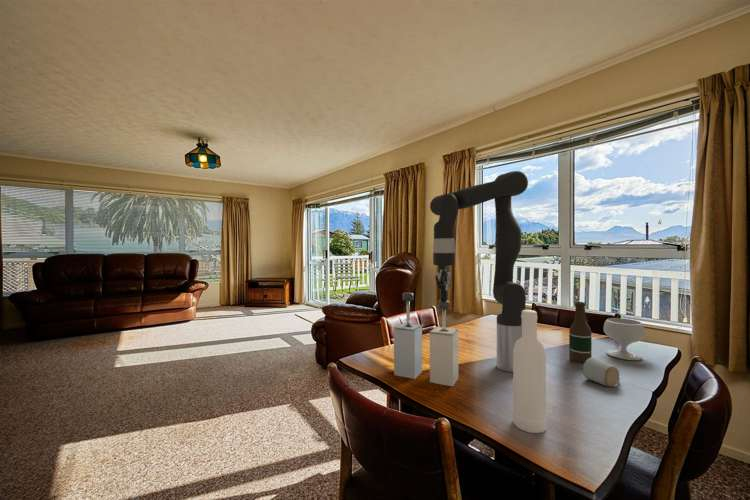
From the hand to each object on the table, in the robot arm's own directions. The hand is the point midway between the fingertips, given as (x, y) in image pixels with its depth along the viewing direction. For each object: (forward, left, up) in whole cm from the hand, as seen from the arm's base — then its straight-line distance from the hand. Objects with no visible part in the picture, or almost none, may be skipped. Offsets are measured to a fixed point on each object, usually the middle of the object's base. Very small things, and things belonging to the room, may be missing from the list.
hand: (444, 300), depth 112 cm
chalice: (-62, -58, -28) cm, 89 cm away
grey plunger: (+13, 0, -13) cm, 19 cm away
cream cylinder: (-49, -23, -28) cm, 61 cm away
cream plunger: (0, 0, -15) cm, 15 cm away
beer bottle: (-45, -43, -28) cm, 68 cm away
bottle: (-28, +18, -28) cm, 43 cm away
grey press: (+13, 0, -28) cm, 31 cm away
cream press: (0, 0, -28) cm, 28 cm away
